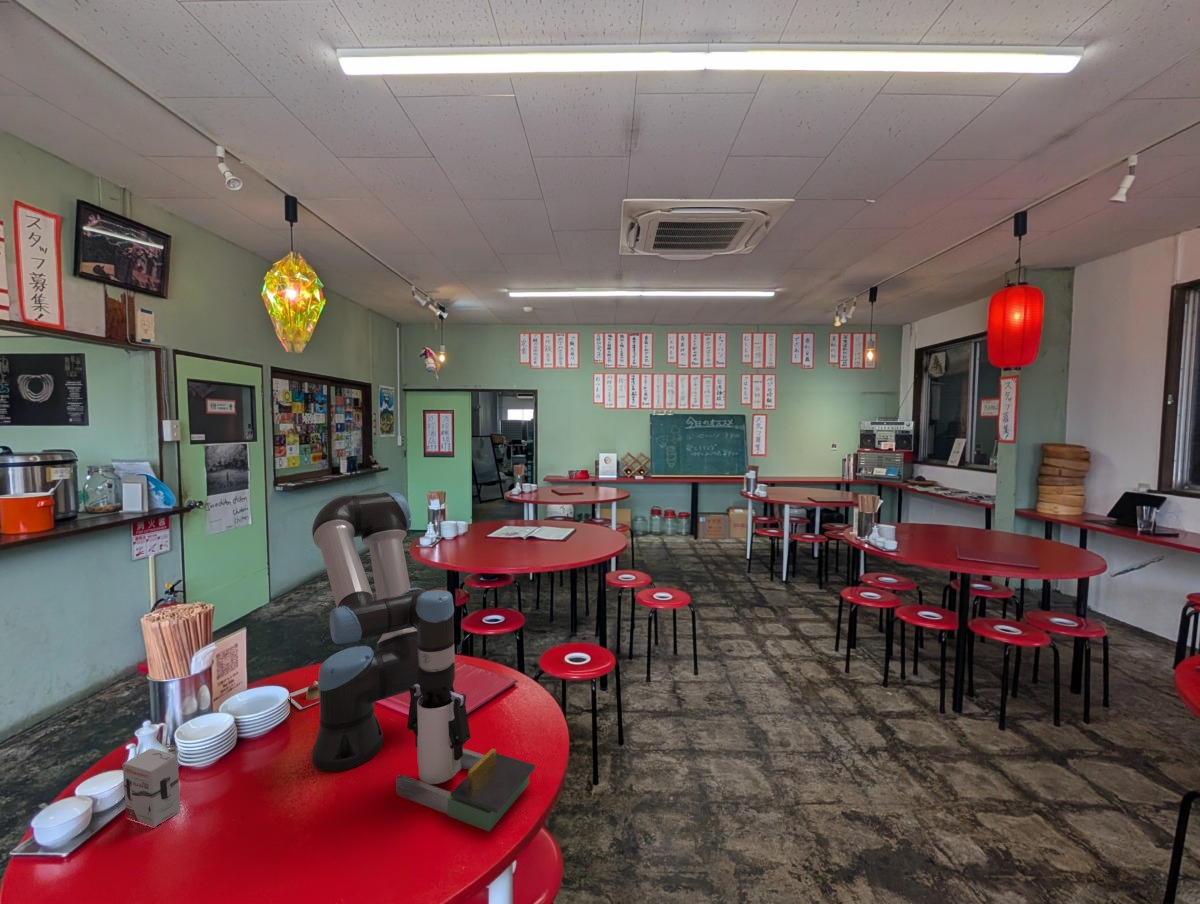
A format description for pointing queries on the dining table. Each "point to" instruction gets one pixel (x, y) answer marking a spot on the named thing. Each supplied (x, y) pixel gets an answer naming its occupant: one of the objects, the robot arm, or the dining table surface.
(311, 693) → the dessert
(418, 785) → the bracket
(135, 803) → the ink box
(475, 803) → the cover
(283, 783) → the dining table surface
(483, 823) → the green rectangular box
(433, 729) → the cup
